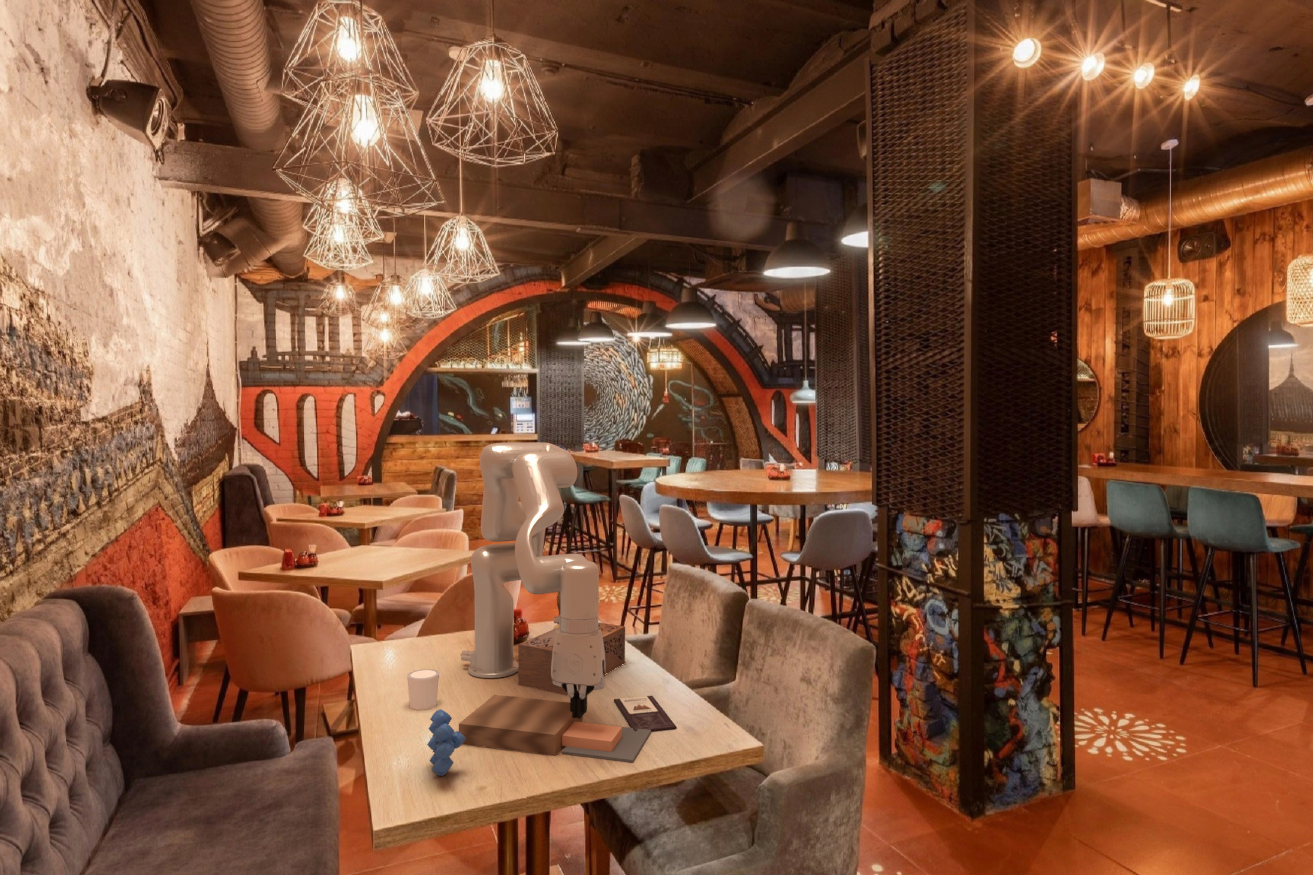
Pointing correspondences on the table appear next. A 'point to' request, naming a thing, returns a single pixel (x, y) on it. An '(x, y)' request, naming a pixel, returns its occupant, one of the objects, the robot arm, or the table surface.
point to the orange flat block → (592, 736)
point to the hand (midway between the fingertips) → (578, 715)
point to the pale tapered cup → (423, 688)
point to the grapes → (443, 742)
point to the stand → (518, 724)
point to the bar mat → (616, 747)
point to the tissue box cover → (539, 657)
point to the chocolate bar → (644, 714)
